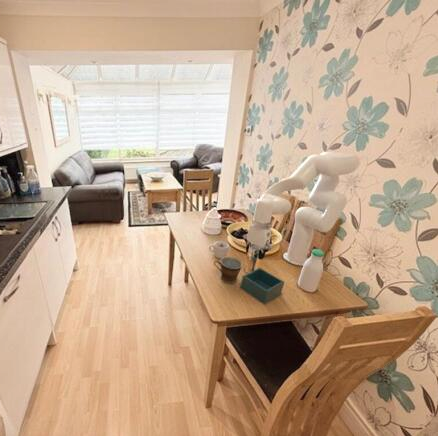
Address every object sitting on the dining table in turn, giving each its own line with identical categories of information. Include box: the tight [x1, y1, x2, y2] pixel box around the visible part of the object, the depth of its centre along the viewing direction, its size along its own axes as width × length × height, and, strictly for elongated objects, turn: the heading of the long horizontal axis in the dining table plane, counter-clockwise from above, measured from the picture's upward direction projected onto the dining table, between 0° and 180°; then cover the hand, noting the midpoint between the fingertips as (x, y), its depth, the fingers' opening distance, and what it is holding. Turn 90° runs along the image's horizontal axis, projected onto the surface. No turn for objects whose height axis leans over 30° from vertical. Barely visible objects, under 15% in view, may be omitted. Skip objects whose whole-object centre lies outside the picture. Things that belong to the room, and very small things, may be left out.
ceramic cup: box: [213, 256, 243, 284], centre depth 118 cm, size 13×10×10 cm
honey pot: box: [201, 206, 223, 236], centre depth 166 cm, size 13×13×18 cm
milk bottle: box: [297, 248, 325, 293], centre depth 110 cm, size 8×8×20 cm
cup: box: [208, 240, 230, 260], centre depth 138 cm, size 11×8×8 cm
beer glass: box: [244, 243, 261, 274], centre depth 123 cm, size 7×7×15 cm
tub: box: [240, 267, 285, 305], centre depth 111 cm, size 13×13×7 cm
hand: (254, 254), depth 122 cm, fingers closed on beer glass, 7 cm apart
